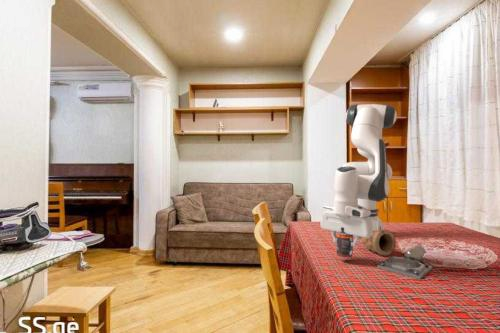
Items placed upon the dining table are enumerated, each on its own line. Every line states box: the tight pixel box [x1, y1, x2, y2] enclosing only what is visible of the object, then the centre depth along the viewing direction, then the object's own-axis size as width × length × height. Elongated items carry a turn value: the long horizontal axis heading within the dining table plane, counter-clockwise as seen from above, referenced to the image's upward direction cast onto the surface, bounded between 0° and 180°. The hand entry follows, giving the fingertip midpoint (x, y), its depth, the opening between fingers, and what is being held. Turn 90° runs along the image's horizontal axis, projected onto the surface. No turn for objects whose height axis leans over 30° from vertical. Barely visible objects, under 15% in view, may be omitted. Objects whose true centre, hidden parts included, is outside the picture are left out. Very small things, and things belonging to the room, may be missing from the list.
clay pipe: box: [361, 229, 397, 257], centre depth 127 cm, size 19×11×15 cm
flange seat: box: [376, 245, 433, 280], centre depth 109 cm, size 24×14×5 cm, turn 134°
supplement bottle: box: [336, 227, 354, 258], centre depth 112 cm, size 6×6×11 cm
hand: (344, 244), depth 112 cm, fingers closed on supplement bottle, 6 cm apart
